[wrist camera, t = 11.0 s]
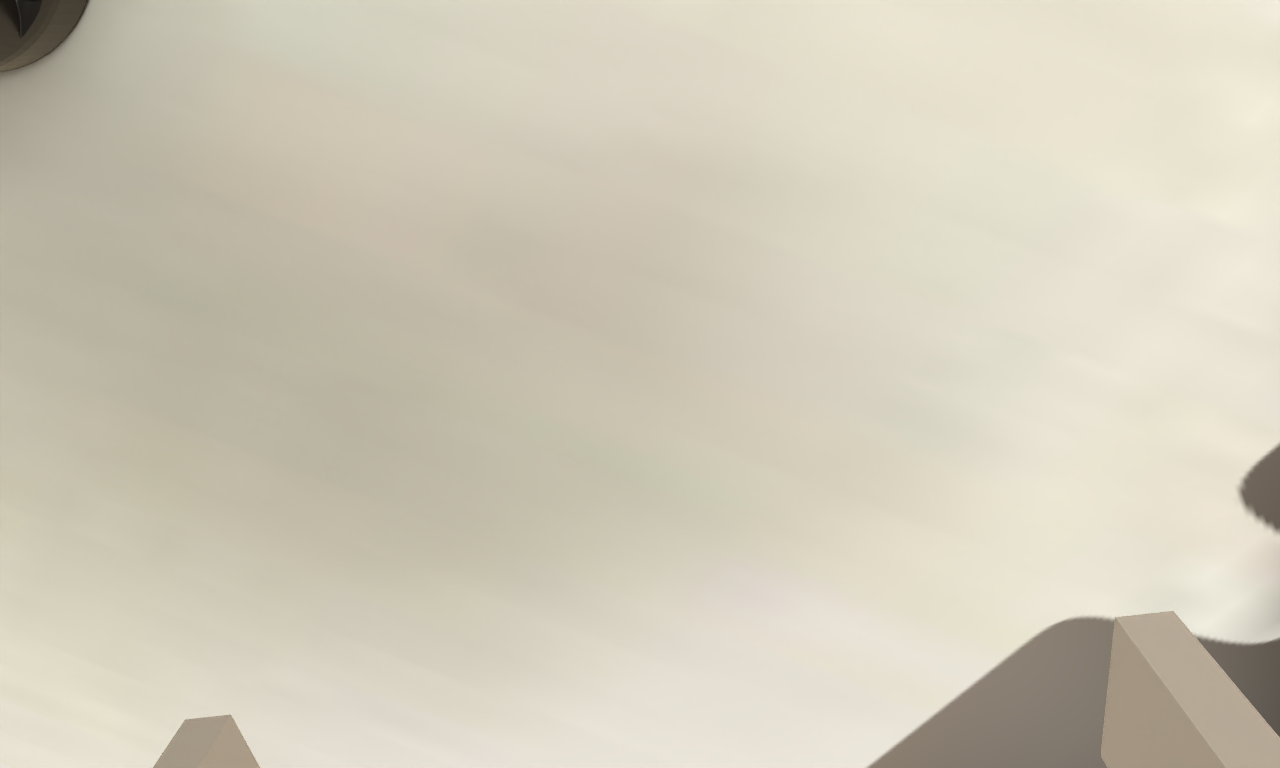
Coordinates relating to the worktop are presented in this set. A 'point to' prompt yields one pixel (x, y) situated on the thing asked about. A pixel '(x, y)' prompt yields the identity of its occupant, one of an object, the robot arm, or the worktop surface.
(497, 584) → the worktop surface
